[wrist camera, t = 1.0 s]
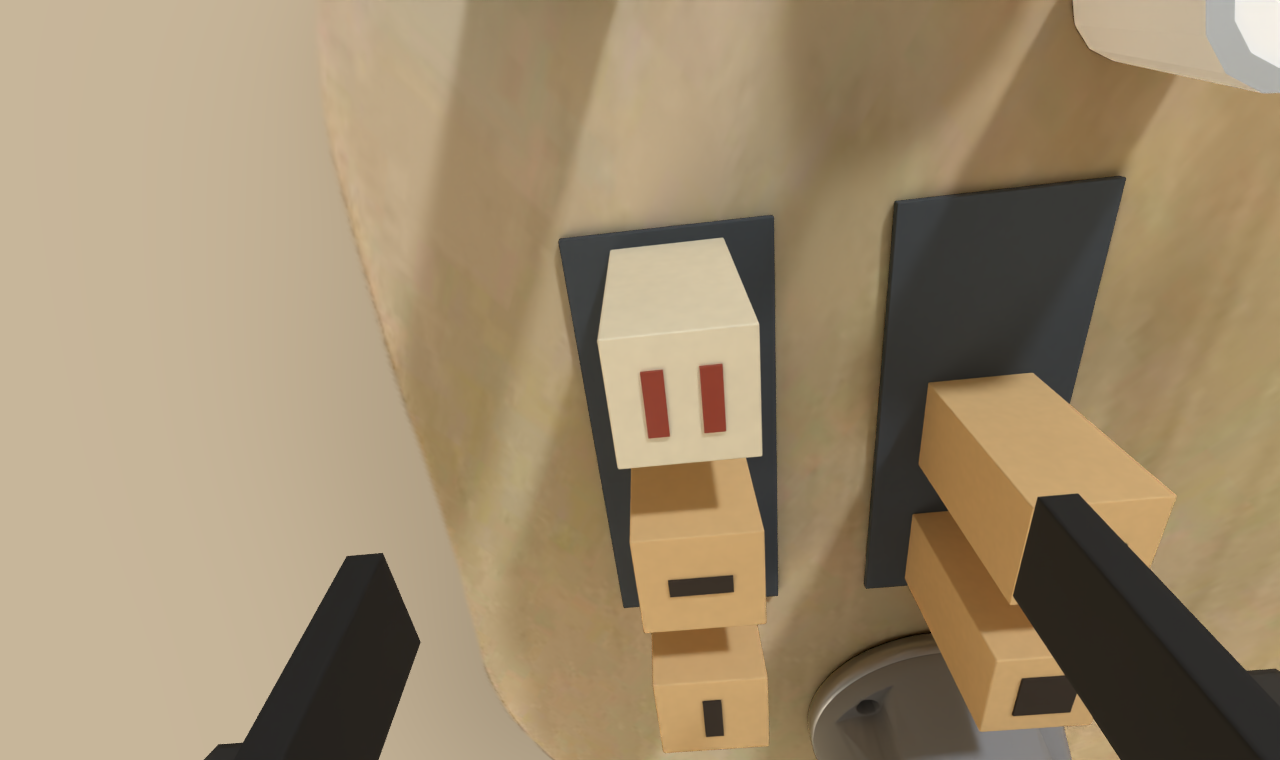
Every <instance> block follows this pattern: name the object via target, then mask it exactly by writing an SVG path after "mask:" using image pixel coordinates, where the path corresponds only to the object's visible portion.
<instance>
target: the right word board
mask: <svg viewBox="0 0 1280 760" xmlns="http://www.w3.org/2000/svg"><path fill="white" fill-rule="evenodd" d="M1125 181H1126V178H1125V177H1122V176H1114V177H1105V178H1096V179H1087V180H1079V181H1070V182H1061V183H1052V184H1043V185H1034V186H1025V187H1016V188H1007V189H998V190H989V191H981V192H972V193H963V194H954V195H945V196H936V197H927V198H918V199H909V200H900V201H895V203H894V216H893V228H892V241H891V253H890V266H889V278H888V291H887V303H886V316H885V328H884V341H883V353H882V366H881V378H880V391H879V403H878V416H877V428H876V441H875V453H874V466H873V478H872V491H871V503H870V516H869V528H868V541H867V553H866V566H865V578H864V585H865V587H866V589H869V588H882V587H894V586H907V585H908V586H909V588H910V590H911V592H912V594H913V597H914V599H915V601H916V603H917V605H918V607H919V609H920V611H921V613H922V615H923V617H924V619H925V621H926V623H927V625H928V627H929V629H930V631H931V633H932V635H933V637H934V639H935V642H936V644H937V646H938V648H939V650H940V652H941V654H942V656H943V658H944V660H945V662H946V664H947V666H948V668H949V670H950V672H951V674H952V676H953V678H954V680H955V682H956V685H957V687H958V689H959V691H960V693H961V695H962V697H963V699H964V701H965V703H966V705H967V707H968V709H969V711H970V713H971V715H972V717H973V719H974V721H975V723H976V725H977V727H978V730H979V731H980V732H987V731H1002V730H1017V729H1032V728H1047V727H1062V726H1077V725H1090V724H1091V723H1092V720H1093V717H1092V715H1091V714H1090V712H1089V711H1088V709H1087V708H1086V706H1085V705H1084V703H1083V702H1082V700H1081V699H1080V697H1079V696H1078V694H1077V693H1076V691H1075V690H1074V688H1073V687H1072V685H1071V684H1070V682H1069V681H1068V679H1067V678H1066V676H1065V675H1064V673H1063V672H1062V670H1061V668H1060V667H1059V665H1058V664H1057V662H1056V661H1055V659H1054V658H1053V656H1052V655H1051V653H1050V652H1049V650H1048V649H1047V647H1046V646H1045V644H1044V643H1043V641H1042V640H1041V638H1040V637H1039V635H1038V634H1037V632H1036V631H1035V629H1034V628H1033V626H1032V624H1031V623H1030V621H1029V620H1028V618H1027V617H1026V615H1025V614H1024V612H1023V611H1022V609H1021V608H1020V606H1019V605H1018V603H1017V602H1016V600H1015V599H1014V597H1013V593H1014V589H1015V585H1016V581H1017V577H1018V573H1019V569H1020V565H1021V561H1022V557H1023V553H1024V549H1025V545H1026V541H1027V537H1028V533H1029V529H1030V525H1031V521H1032V517H1033V513H1034V509H1035V505H1036V501H1037V497H1041V496H1053V495H1064V494H1076V493H1078V494H1079V495H1080V496H1081V497H1082V498H1083V499H1084V500H1085V501H1086V502H1087V503H1088V504H1089V505H1090V506H1091V507H1092V508H1093V510H1094V511H1095V512H1096V513H1097V514H1098V515H1099V516H1100V517H1101V518H1102V519H1103V520H1104V521H1105V522H1106V523H1107V524H1108V525H1109V526H1110V528H1111V529H1112V530H1113V531H1114V532H1115V533H1116V534H1117V535H1118V536H1119V537H1120V538H1121V539H1122V540H1123V541H1124V542H1125V543H1126V544H1127V545H1128V547H1129V548H1130V549H1131V550H1132V551H1133V552H1134V553H1135V554H1136V555H1137V556H1138V557H1139V558H1140V559H1141V560H1142V561H1143V562H1144V563H1145V564H1146V566H1147V567H1148V568H1149V569H1150V567H1151V564H1152V561H1153V559H1154V556H1155V553H1156V551H1157V548H1158V545H1159V543H1160V540H1161V537H1162V535H1163V532H1164V529H1165V527H1166V524H1167V522H1168V519H1169V516H1170V514H1171V511H1172V508H1173V506H1174V503H1175V500H1176V498H1177V496H1176V495H1175V494H1174V493H1173V492H1172V491H1171V490H1170V489H1168V488H1167V487H1166V486H1165V485H1164V484H1162V483H1161V482H1160V481H1159V480H1158V479H1157V478H1155V477H1154V476H1153V475H1152V474H1151V473H1150V472H1148V471H1147V470H1146V469H1145V468H1144V467H1143V466H1141V465H1140V464H1139V463H1138V462H1137V461H1136V460H1134V459H1133V458H1132V457H1131V456H1130V455H1129V454H1127V453H1126V452H1125V451H1124V450H1123V449H1122V448H1120V447H1119V446H1118V445H1117V444H1116V443H1114V442H1113V441H1112V440H1111V439H1110V438H1109V437H1107V436H1106V435H1105V434H1104V433H1103V432H1102V431H1100V430H1099V429H1098V428H1097V427H1096V426H1095V425H1093V424H1092V423H1091V422H1090V421H1089V420H1088V419H1086V418H1085V417H1084V416H1083V415H1082V414H1081V413H1079V412H1078V411H1077V410H1076V409H1075V408H1074V407H1072V406H1071V405H1070V401H1071V397H1072V393H1073V389H1074V385H1075V381H1076V377H1077V373H1078V369H1079V365H1080V361H1081V357H1082V353H1083V349H1084V345H1085V341H1086V337H1087V333H1088V329H1089V325H1090V321H1091V317H1092V313H1093V309H1094V305H1095V301H1096V297H1097V293H1098V289H1099V285H1100V281H1101V277H1102V273H1103V269H1104V265H1105V261H1106V257H1107V253H1108V249H1109V245H1110V241H1111V237H1112V233H1113V229H1114V225H1115V221H1116V217H1117V213H1118V209H1119V205H1120V201H1121V197H1122V193H1123V189H1124V185H1125Z"/></svg>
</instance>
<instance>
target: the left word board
mask: <svg viewBox="0 0 1280 760" xmlns="http://www.w3.org/2000/svg"><path fill="white" fill-rule="evenodd" d="M714 238H724V240H725V243H726V245H727V247H728V250H729V252H730V255H731V257H732V260H733V262H734V264H735V267H736V269H737V272H738V274H739V276H740V279H741V281H742V284H743V286H744V288H745V291H746V293H747V296H748V298H749V301H750V303H751V305H752V308H753V310H754V313H755V315H756V317H757V320H758V322H759V330H760V371H761V413H762V456H759V457H748V458H738V459H727V460H716V461H705V462H694V463H683V464H672V465H661V466H650V467H639V468H628V469H618V467H617V461H616V455H615V449H614V442H613V436H612V430H611V424H610V418H609V411H608V405H607V399H606V393H605V386H604V380H603V374H602V368H601V362H600V355H599V349H598V343H597V339H598V332H599V325H600V318H601V311H602V304H603V297H604V290H605V283H606V276H607V269H608V262H609V255H610V250H615V249H624V248H633V247H642V246H651V245H660V244H669V243H678V242H687V241H696V240H705V239H714ZM559 248H560V253H561V259H562V265H563V270H564V276H565V281H566V287H567V293H568V298H569V304H570V309H571V315H572V321H573V326H574V332H575V337H576V343H577V349H578V354H579V360H580V365H581V371H582V377H583V382H584V388H585V393H586V399H587V405H588V410H589V416H590V421H591V427H592V433H593V438H594V444H595V449H596V455H597V461H598V466H599V472H600V477H601V483H602V489H603V494H604V500H605V505H606V511H607V517H608V522H609V528H610V533H611V539H612V545H613V550H614V556H615V561H616V567H617V573H618V578H619V584H620V590H621V595H622V601H623V606H624V608H630V607H640V610H641V617H642V623H643V629H644V633H652V678H653V691H654V697H655V703H656V710H657V716H658V722H659V728H660V735H661V741H662V747H663V752H664V753H672V752H687V751H702V750H717V749H732V748H747V747H762V746H769V706H768V676H767V671H766V666H765V661H764V656H763V651H762V646H761V641H760V636H759V631H758V626H757V625H758V624H766V622H767V621H766V597H768V596H778V543H777V452H776V361H775V270H774V217H773V216H772V215H767V216H758V217H749V218H740V219H731V220H722V221H713V222H704V223H695V224H687V225H678V226H669V227H660V228H651V229H642V230H633V231H624V232H615V233H606V234H597V235H589V236H580V237H571V238H562V239H559Z"/></svg>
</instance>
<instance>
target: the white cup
mask: <svg viewBox="0 0 1280 760" xmlns="http://www.w3.org/2000/svg"><path fill="white" fill-rule="evenodd" d="M1073 10H1074V22H1075V26H1076V28H1077V29H1078V31H1079V33H1080V34H1081V36H1082V38H1083V39H1084V41H1085V43H1086V44H1087V46H1088V47H1089V49H1091V50H1093V51H1095V52H1097V53H1098V54H1100V55H1102V56H1104V57H1106V58H1108V59H1110V60H1112V61H1115V62H1120V63H1125V64H1129V65H1134V66H1138V67H1143V68H1148V69H1152V70H1157V71H1162V72H1166V73H1171V74H1176V75H1180V76H1185V77H1189V78H1194V79H1199V80H1203V81H1208V82H1213V83H1217V84H1222V85H1226V86H1231V87H1236V88H1240V89H1245V90H1250V91H1254V92H1259V93H1280V0H1073Z"/></svg>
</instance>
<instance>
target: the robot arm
mask: <svg viewBox="0 0 1280 760" xmlns="http://www.w3.org/2000/svg"><path fill="white" fill-rule="evenodd" d="M1013 597H1014V599H1015V600H1016V602H1017V603H1018V605H1019V606H1020V608H1021V609H1022V611H1023V612H1024V614H1025V615H1026V617H1027V618H1028V620H1029V621H1030V623H1031V624H1032V626H1033V628H1034V629H1035V631H1036V632H1037V634H1038V635H1039V637H1040V638H1041V640H1042V641H1043V643H1044V644H1045V646H1046V647H1047V649H1048V650H1049V652H1050V653H1051V655H1052V656H1053V658H1054V659H1055V661H1056V662H1057V664H1058V665H1059V667H1060V668H1061V670H1062V672H1063V673H1064V675H1065V676H1066V678H1067V679H1068V681H1069V682H1070V684H1071V685H1072V687H1073V688H1074V690H1075V691H1076V693H1077V694H1078V696H1079V697H1080V699H1081V700H1082V702H1083V703H1084V705H1085V706H1086V708H1087V709H1088V711H1089V712H1090V714H1091V715H1092V717H1093V719H1094V720H1095V722H1096V723H1097V725H1098V726H1099V728H1100V729H1101V731H1102V732H1103V734H1104V735H1105V737H1106V738H1107V740H1108V741H1109V743H1110V744H1111V746H1112V747H1113V749H1114V750H1115V752H1116V753H1117V755H1118V756H1119V758H1120V759H1121V760H1280V671H1278V670H1277V669H1266V670H1252V671H1246V670H1245V669H1244V668H1243V667H1242V666H1241V665H1240V664H1239V663H1238V662H1237V661H1236V660H1235V659H1234V657H1233V656H1232V655H1231V654H1230V653H1229V652H1228V651H1227V650H1226V649H1225V648H1224V647H1223V646H1222V645H1221V644H1220V643H1219V642H1218V641H1217V640H1216V638H1215V637H1214V636H1213V635H1212V634H1211V633H1210V632H1209V631H1208V630H1207V629H1206V628H1205V627H1204V626H1203V625H1202V624H1201V623H1200V622H1199V620H1198V619H1197V618H1196V617H1195V616H1194V615H1193V614H1192V613H1191V612H1190V611H1189V610H1188V609H1187V608H1186V607H1185V606H1184V605H1183V604H1182V603H1181V601H1180V600H1179V599H1178V598H1177V597H1176V596H1175V595H1174V594H1173V593H1172V592H1171V591H1170V590H1169V589H1168V588H1167V587H1166V586H1165V585H1164V584H1163V582H1162V581H1161V580H1160V579H1159V578H1158V577H1157V576H1156V575H1155V574H1154V573H1153V572H1152V571H1151V570H1150V569H1149V568H1148V567H1147V566H1146V564H1145V563H1144V562H1143V561H1142V560H1141V559H1140V558H1139V557H1138V556H1137V555H1136V554H1135V553H1134V552H1133V551H1132V550H1131V549H1130V548H1129V547H1128V545H1127V544H1126V543H1125V542H1124V541H1123V540H1122V539H1121V538H1120V537H1119V536H1118V535H1117V534H1116V533H1115V532H1114V531H1113V530H1112V529H1111V528H1110V526H1109V525H1108V524H1107V523H1106V522H1105V521H1104V520H1103V519H1102V518H1101V517H1100V516H1099V515H1098V514H1097V513H1096V512H1095V511H1094V510H1093V508H1092V507H1091V506H1090V505H1089V504H1088V503H1087V502H1086V501H1085V500H1084V499H1083V498H1082V497H1081V496H1080V495H1079V494H1078V493H1076V494H1064V495H1053V496H1041V497H1037V501H1036V505H1035V509H1034V513H1033V517H1032V521H1031V525H1030V529H1029V533H1028V537H1027V541H1026V545H1025V549H1024V553H1023V557H1022V561H1021V565H1020V569H1019V573H1018V577H1017V581H1016V585H1015V589H1014V593H1013ZM419 645H420V640H419V637H418V635H417V633H416V631H415V628H414V626H413V623H412V621H411V618H410V616H409V614H408V611H407V609H406V607H405V604H404V602H403V600H402V597H401V595H400V593H399V590H398V588H397V585H396V583H395V581H394V578H393V576H392V574H391V571H390V569H389V567H388V564H387V562H386V559H385V557H384V555H383V553H378V554H367V555H356V556H347V557H346V559H345V561H344V562H343V564H342V566H341V568H340V569H339V571H338V573H337V575H336V577H335V578H334V580H333V582H332V584H331V586H330V588H329V589H328V591H327V593H326V595H325V597H324V598H323V600H322V602H321V604H320V605H319V607H318V609H317V611H316V613H315V614H314V616H313V618H312V620H311V622H310V623H309V625H308V627H307V629H306V631H305V632H304V634H303V636H302V638H301V639H300V641H299V643H298V645H297V647H296V648H295V650H294V652H293V654H292V656H291V658H290V659H289V661H288V663H287V665H286V666H285V668H284V670H283V672H282V674H281V676H280V677H279V679H278V681H277V683H276V684H275V686H274V688H273V690H272V692H271V694H270V695H269V697H268V699H267V701H266V702H265V704H264V706H263V708H262V710H261V712H260V713H259V715H258V717H257V719H256V721H255V722H254V724H253V726H252V728H251V730H250V731H249V733H248V735H247V737H246V738H245V740H244V742H243V743H235V744H234V743H233V744H219V745H218V746H217V747H216V748H215V749H214V750H213V751H212V752H211V753H210V754H209V755H208V756H207V757H206V758H205V759H204V760H378V759H379V757H380V754H381V751H382V748H383V746H384V743H385V740H386V737H387V734H388V732H389V729H390V726H391V723H392V720H393V717H394V715H395V712H396V709H397V706H398V704H399V701H400V698H401V695H402V692H403V690H404V687H405V684H406V681H407V678H408V675H409V673H410V670H411V667H412V664H413V661H414V659H415V656H416V653H417V651H418V648H419ZM807 721H808V729H809V733H810V737H811V742H812V746H813V750H814V753H815V756H816V758H817V760H1072V758H1071V754H1070V750H1069V746H1068V742H1067V738H1066V734H1065V730H1064V726H1062V727H1047V728H1032V729H1017V730H1002V731H987V732H980V731H979V730H978V727H977V725H976V723H975V721H974V719H973V717H972V715H971V713H970V711H969V709H968V707H967V705H966V703H965V701H964V699H963V697H962V695H961V693H960V691H959V689H958V687H957V685H956V682H955V680H954V678H953V676H952V674H951V672H950V670H949V668H948V666H947V664H946V662H945V660H944V658H943V656H942V654H941V652H940V650H939V648H938V646H937V644H936V642H935V639H934V637H933V635H932V633H930V634H922V635H916V636H911V637H906V638H902V639H898V640H895V641H891V642H888V643H885V644H882V645H880V646H877V647H875V648H872V649H870V650H868V651H866V652H864V653H862V654H860V655H858V656H856V657H854V658H853V659H851V660H850V661H848V662H846V663H845V664H844V665H842V666H841V667H840V668H838V669H837V670H836V671H835V672H833V673H832V674H831V675H830V676H829V677H828V678H827V679H826V680H825V681H824V682H823V683H822V685H821V686H820V687H819V689H818V690H817V692H816V693H815V695H814V697H813V699H812V701H811V704H810V707H809V711H808V718H807Z"/></svg>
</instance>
